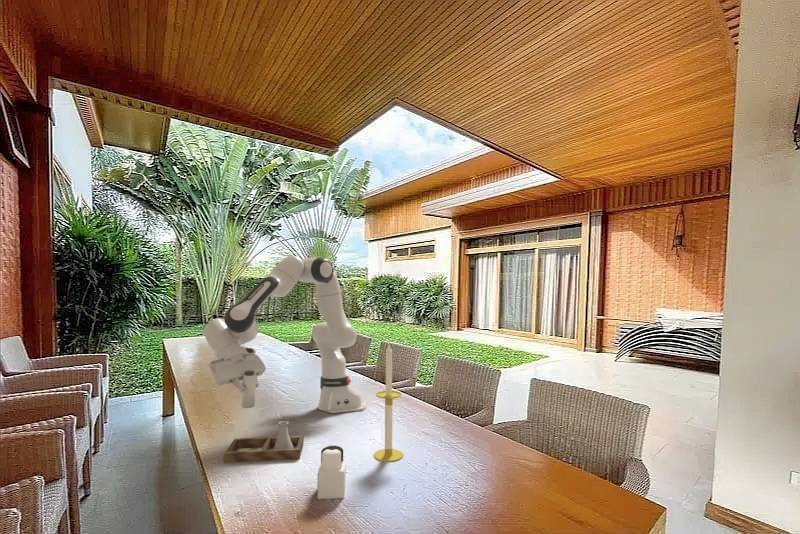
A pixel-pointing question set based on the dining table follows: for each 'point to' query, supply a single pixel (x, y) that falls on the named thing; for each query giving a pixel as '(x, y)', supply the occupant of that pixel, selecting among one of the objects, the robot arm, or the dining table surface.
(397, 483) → the dining table surface
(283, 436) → the flask
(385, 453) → the candle
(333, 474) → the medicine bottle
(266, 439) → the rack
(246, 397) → the white capped tube
